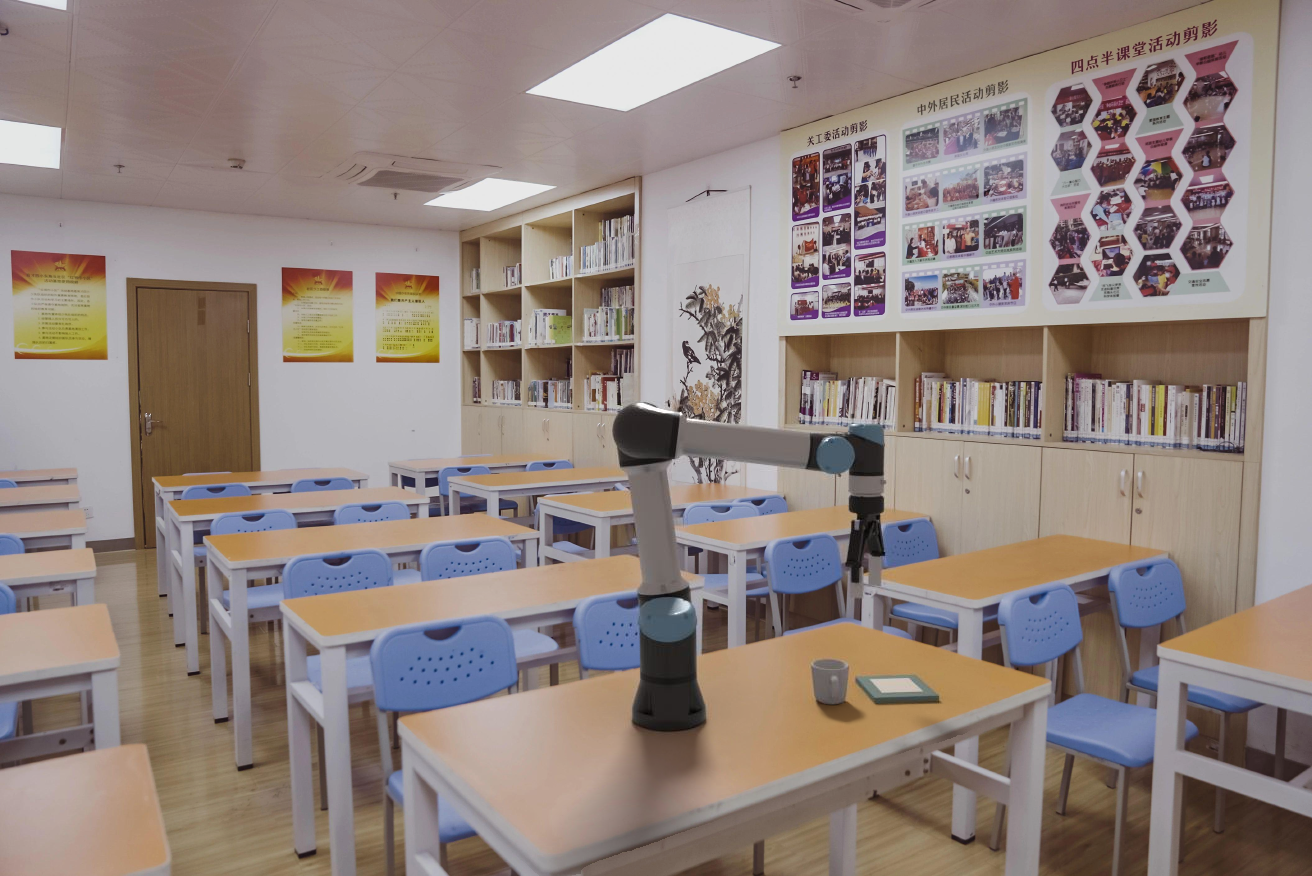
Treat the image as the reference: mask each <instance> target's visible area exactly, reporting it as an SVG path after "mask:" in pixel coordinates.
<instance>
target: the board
mask: <svg viewBox="0 0 1312 876" xmlns="http://www.w3.org/2000/svg"><path fill="white" fill-rule="evenodd" d="M855 683H856V684H857V686H858V687H859V688H861V690H862V691H863V692H864V693H865V694H866V696H867V697H869V699H870V700H871V701H872V702H873V703H874V704H887V703H888V704H889V703H890V704H891V703H895V704H897V703H916V702H917V703H918V702H919V703H920V702H924V703H925V702H926V703H927V702H939V701H940V695H939V694H938V692H936V691H934V689H932V688H931V687H930V686H929V685H928V684H927V683H926V682H925V681H923V680H922V679H921V678H920V677H919V676H918V675H917V674H894V675H893V674H891V675H862V676H858V675H857V676H855Z"/></svg>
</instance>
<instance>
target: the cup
mask: <svg viewBox="0 0 1312 876" xmlns="http://www.w3.org/2000/svg"><path fill="white" fill-rule="evenodd" d="M810 666H811V667H810V668H811V678H812V687H813V694H814V697H815V699H816V700H817V701H818V702H819V703H822V704H825V705H838V704H841V703H843V702H845V700H846V697H847V693H848V692H847V691H848V682H849V681H848V680H849V674H850V673H849V671H850V664H849V663H848V662H846V661H844V660H841V659H835V658H820V659H816V660H813V661H812V662H811V665H810Z"/></svg>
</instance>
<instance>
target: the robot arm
mask: <svg viewBox="0 0 1312 876" xmlns="http://www.w3.org/2000/svg"><path fill="white" fill-rule="evenodd" d="M611 431H612V438H613V441H614V443H615V445H616V449H617V456H618V462H619V463H618V465H619V469H621V470H622V471H623V472H624V473H626V474H627V478H628V486H629V495H630V499H631V505H632V506H631V507H632V515H633V523H634V530H635V537H636V544H637V551H638V557H639V559H638V560H639V566H640V572H641V581H642V582H641V584H639V586H638V588H637V589H636V595H637V600H638V609H639V615H638V619H637V621H638V626H639V627H638V629H639V683H638V685H637V689H636V692H635V696H634V700H633V702H632V707H631V719H632V720H633V722H634V723H635V724H636V725H638V726H640V727H643V728H645V729H650V730H655V731H656V730H657V731H666V732H667V731H668V732H671V731H672V732H673V731H680V730H681V731H682V730H688V729H691V728H692V729H693V728H695V727H697V726H700V725H701V724H703V723H704V722H705V720H706V718H707V707H706V704H705V703H706V702H705V700H704V697H703V694H702V691H701V688H700V685H699V682H698V673H697V672H698V670H697V667H698V664H697V663H698V660H697V659H698V658H697V657H698V656H697V626H698V615H697V611H696V608H695V606H694V604H692V603H693V601H692V595H691V589H690V583H689V581H687V579H685V578H683V576H682V574H681V566H680V557H679V552H678V544H677V536H676V530H675V529H676V528H675V521H674V515H673V506H672V499H671V492H670V484H669V479H668V477H669V476H668V468H669V466H670V464H672V462H673V460H678V459H679V458H680V457H681V456H686V457H687V456H688V457H694V458H702V459H712V460H719V461H720V460H721V461H731V462H737V463H745V464H747V463H748V464H754V465H763V466H772V467H782V468H789V469H790V468H791V469H797V470H807V471H814V472H822V473H826V474H828V475H840V474H844V473H846V472H847V471H848V493H850V494H849V496H848V511H849V512H850V513H852V514H856V519H851V521H850V535H849V541H848V547H847V554H846V561H845V567H848V568H849V598H855V599H864V567H863V562H864V558H865V557H864V556H865V553H866V548H868V551H869V554H870V555H868V586H875V587H882V557H886V551H885V550H886V549H885V544H884V535H883V530H882V529H883V528H882V524H881V514H883V513H884V512H885V497H884V495H882V494H884V493H885V485H886V484H887V480H886V479H885V446H886V444H885V430H884V427H883V426H882V425H881V424H879V423H851V424H849V425H848V430H847V432H841V433H834V432H833V433H829V432H828V433H826V432H804V431H798V430H797V431H796V430H790V429H788V430H787V429H780V428H771V427H762V426H754V425H753V426H752V425H745V424H738V423H737V424H736V423H729V422H722V421H721V422H720V421H712V420H704V419H696V418H695V419H694V418H689V417H686V416H685V415H684V414H683V413H682V412H679V411H671V410H666V409H662V408H659V407H658V406H657V405H655V404H653V403H650V402H647V401H643V402H640V401H637V402H633V403H630V404H628V405H627V406H624V407H623V408H622V409H620V411H619V412H618V413H617V415H616V416H615V418H614V420H613V423H612V430H611Z"/></svg>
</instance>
